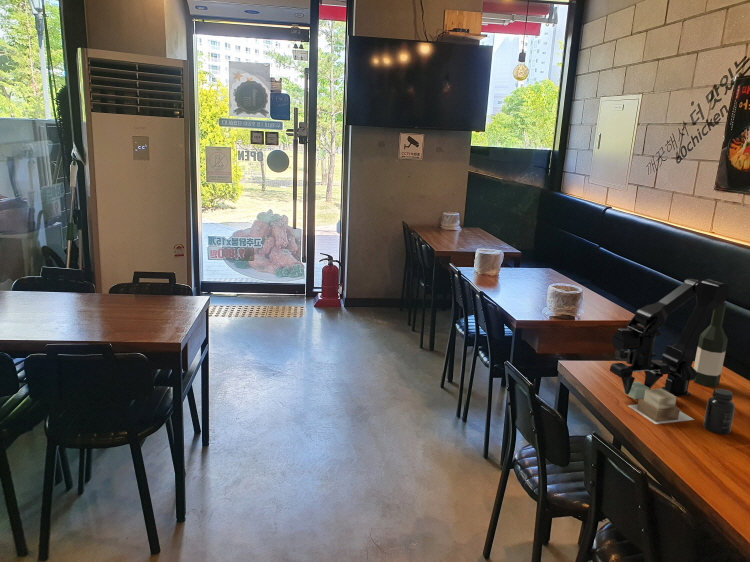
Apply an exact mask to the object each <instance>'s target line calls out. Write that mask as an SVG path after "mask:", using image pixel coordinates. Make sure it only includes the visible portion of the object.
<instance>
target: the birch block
mask: <svg viewBox="0 0 750 562" xmlns="http://www.w3.org/2000/svg"><path fill="white" fill-rule="evenodd" d="M677 397H678V396H674V395H673V394H671V393H669V392H667V391H666V390H664V389H662V387H661V388H660V387H659V388H652V389H651V388H650V389H649V390H645V395H644V398H643V399H644V401H645V402H647V403H649V404H650V405H652V406H653V407H655V408H657V409H666V408H675V406H676V402H677Z"/></svg>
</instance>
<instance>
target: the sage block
mask: <svg viewBox="0 0 750 562" xmlns="http://www.w3.org/2000/svg"><path fill="white" fill-rule="evenodd" d="M645 390H649V387H647V386H645V385H644V384H643V383H642V382H640V381H634V382H633V384H632V387H631V390H630V392H629V394H626V393H625V390H623V393H624V394H625V395H627V396H629V397H630V398H632V399H634V400H638V399H644V395H645Z"/></svg>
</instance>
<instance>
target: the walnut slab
mask: <svg viewBox="0 0 750 562" xmlns="http://www.w3.org/2000/svg"><path fill="white" fill-rule="evenodd" d="M637 404H638V405H637ZM637 404H636V405H637V410H638V411H640V412H641V413H643V414H644V415H646V416H647V417H649V418H650V419H652V420H653V421H655V422H661V421H670V420H678V417H679V412H680V411H681V409H680V407H678V406H676V405H675V408H666V409H657V408H655V407H653V406H652V405H650V404H649V403H647V402H645V401H644V398H642V399H637Z"/></svg>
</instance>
